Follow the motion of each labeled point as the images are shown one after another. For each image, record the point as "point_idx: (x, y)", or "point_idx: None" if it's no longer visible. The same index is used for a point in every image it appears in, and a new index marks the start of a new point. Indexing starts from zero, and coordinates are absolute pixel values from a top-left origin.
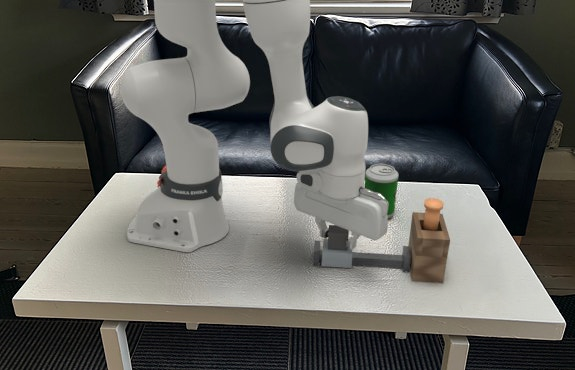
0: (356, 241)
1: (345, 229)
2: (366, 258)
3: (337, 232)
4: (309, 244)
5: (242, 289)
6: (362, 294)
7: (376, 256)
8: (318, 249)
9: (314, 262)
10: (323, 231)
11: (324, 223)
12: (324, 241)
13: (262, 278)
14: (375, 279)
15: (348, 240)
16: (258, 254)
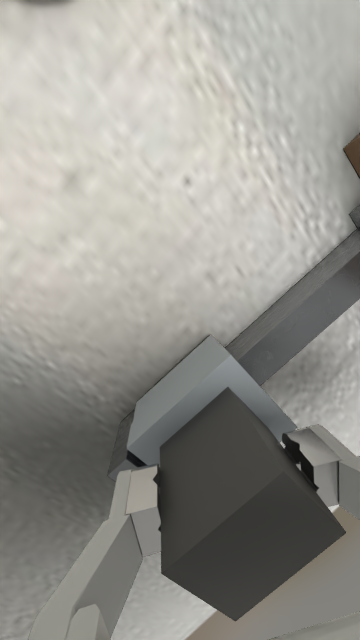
0: (342, 446)
1: (296, 518)
2: (301, 349)
3: (278, 576)
4: (55, 394)
5: (126, 629)
6: (344, 435)
7: (323, 311)
8: None
9: None
10: (153, 552)
11: (109, 563)
12: (148, 457)
13: None
14: (336, 363)
15: (326, 500)
16: (7, 546)
